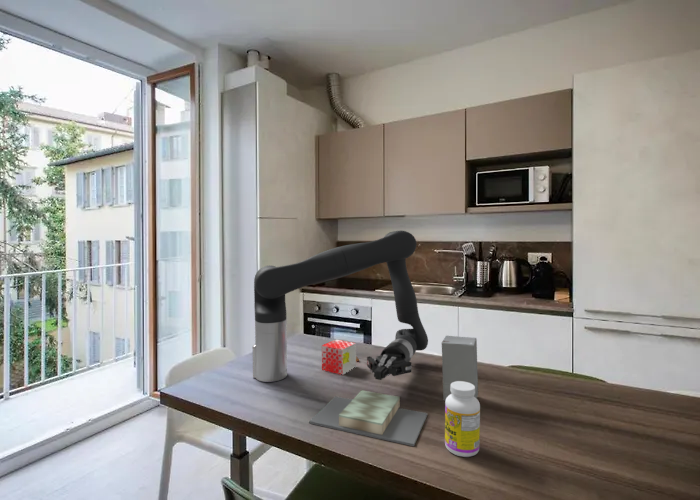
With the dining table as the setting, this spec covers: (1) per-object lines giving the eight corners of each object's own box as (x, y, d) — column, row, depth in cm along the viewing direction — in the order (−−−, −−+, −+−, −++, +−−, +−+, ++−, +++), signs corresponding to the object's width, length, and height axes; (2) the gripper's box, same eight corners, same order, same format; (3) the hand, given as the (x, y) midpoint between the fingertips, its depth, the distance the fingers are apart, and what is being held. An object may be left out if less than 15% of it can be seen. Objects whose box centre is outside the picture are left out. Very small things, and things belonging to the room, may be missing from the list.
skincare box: (478, 396, 98) (478, 337, 98) (475, 407, 92) (476, 344, 91) (445, 390, 102) (446, 333, 101) (440, 401, 95) (441, 340, 95)
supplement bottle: (440, 440, 78) (440, 379, 77) (471, 438, 78) (471, 378, 78) (451, 459, 71) (452, 393, 70) (485, 457, 72) (486, 392, 71)
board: (361, 399, 96) (338, 425, 83) (361, 390, 95) (338, 414, 83) (399, 406, 92) (382, 434, 79) (399, 396, 92) (382, 423, 79)
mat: (309, 423, 85) (309, 421, 85) (335, 398, 97) (335, 396, 97) (413, 446, 75) (413, 444, 75) (427, 415, 88) (427, 413, 88)
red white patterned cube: (342, 375, 114) (342, 349, 113) (321, 370, 118) (321, 345, 117) (356, 367, 120) (356, 342, 120) (336, 362, 124) (335, 339, 124)
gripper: (375, 339, 110) (353, 357, 94) (420, 344, 105) (404, 364, 89) (375, 364, 110) (353, 386, 94) (420, 370, 105) (404, 395, 89)
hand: (378, 375), depth 92 cm, fingers closed
